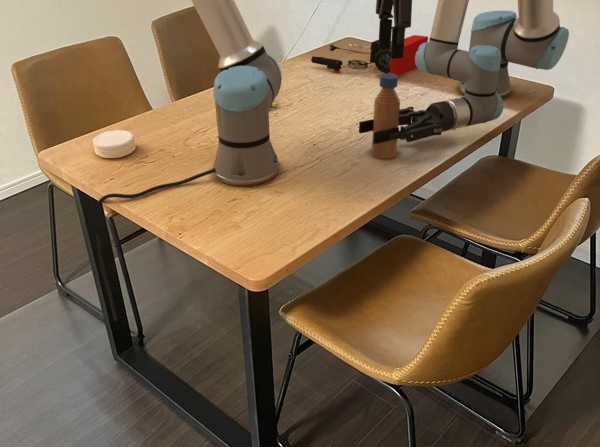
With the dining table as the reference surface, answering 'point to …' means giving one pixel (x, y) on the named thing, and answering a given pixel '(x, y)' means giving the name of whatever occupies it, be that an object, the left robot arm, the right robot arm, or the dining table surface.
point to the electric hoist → (380, 57)
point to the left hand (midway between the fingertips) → (390, 53)
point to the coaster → (114, 144)
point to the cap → (388, 80)
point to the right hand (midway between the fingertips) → (367, 132)
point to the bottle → (385, 121)
